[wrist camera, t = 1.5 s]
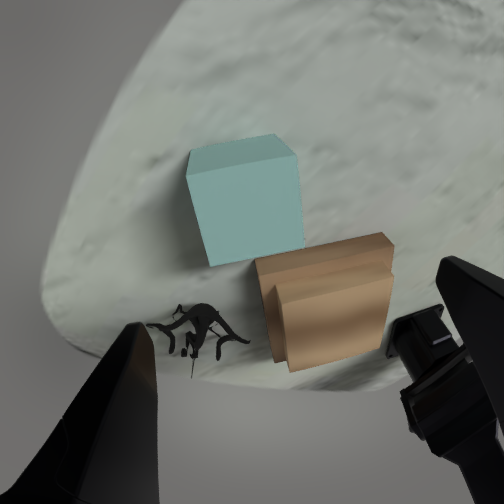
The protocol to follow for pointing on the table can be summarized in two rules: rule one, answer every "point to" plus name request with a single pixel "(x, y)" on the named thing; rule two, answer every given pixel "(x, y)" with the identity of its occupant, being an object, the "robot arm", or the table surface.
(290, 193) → the teal block
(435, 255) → the table surface
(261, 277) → the plinth
